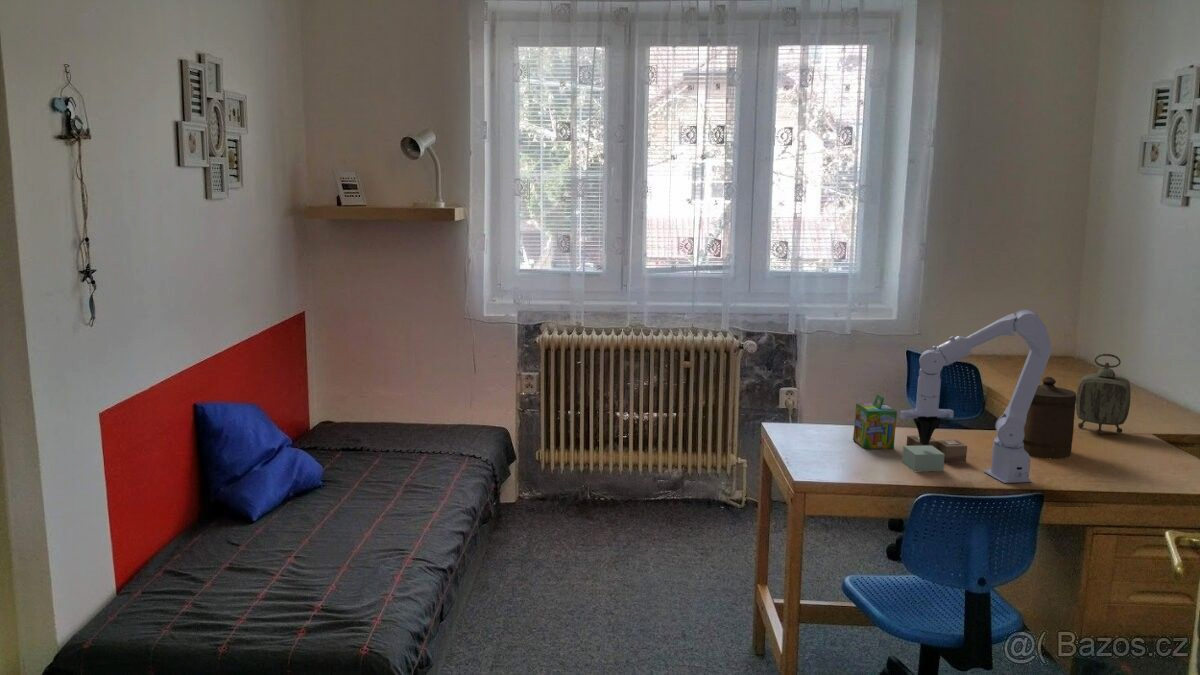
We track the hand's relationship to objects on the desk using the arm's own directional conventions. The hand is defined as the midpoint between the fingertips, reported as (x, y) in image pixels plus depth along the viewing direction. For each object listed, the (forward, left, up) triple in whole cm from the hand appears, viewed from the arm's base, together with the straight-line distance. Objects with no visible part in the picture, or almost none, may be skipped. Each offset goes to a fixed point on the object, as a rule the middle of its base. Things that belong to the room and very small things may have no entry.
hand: (924, 443), depth 240 cm
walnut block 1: (+10, -5, -7) cm, 13 cm away
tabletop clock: (+25, -73, -7) cm, 77 cm away
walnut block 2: (+5, -11, -7) cm, 14 cm away
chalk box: (+21, +4, -7) cm, 22 cm away
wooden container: (+9, -42, -7) cm, 43 cm away
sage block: (0, 0, -7) cm, 7 cm away
